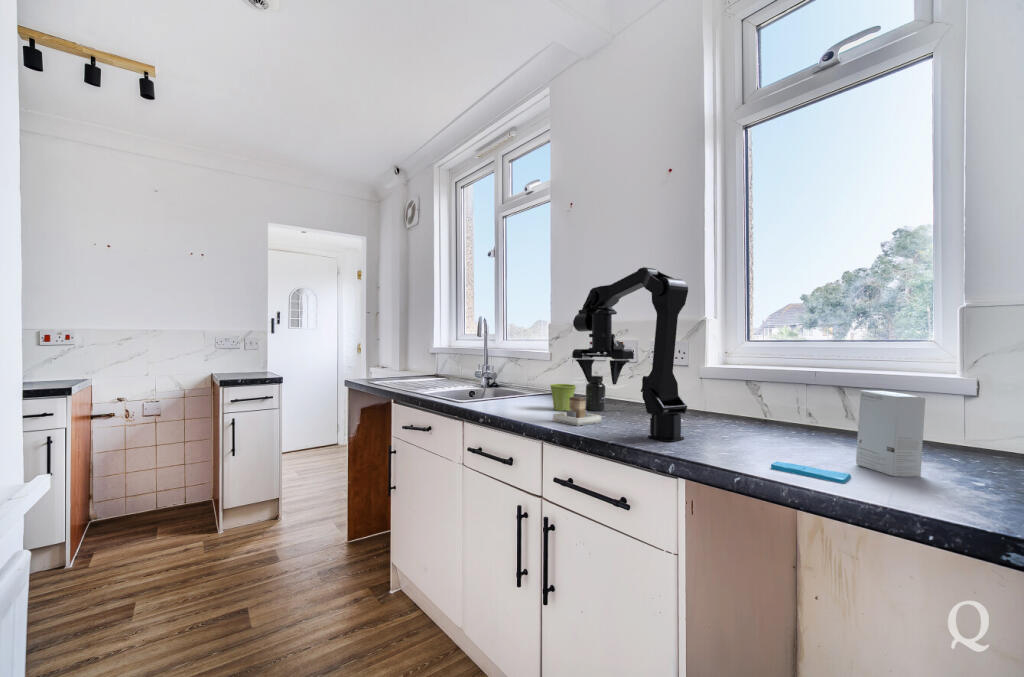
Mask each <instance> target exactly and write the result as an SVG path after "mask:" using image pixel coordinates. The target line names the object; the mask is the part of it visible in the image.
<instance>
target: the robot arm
mask: <svg viewBox="0 0 1024 677" xmlns="http://www.w3.org/2000/svg"><path fill="white" fill-rule="evenodd" d="M642 288H644V289H645V290H646V291H648V292H649V293H651V302H652V305H653V308H654V310H655V313H656V322H655V332H654V344H653V356H652V368H651V371H650V373H649V374H648V375H643V376H642V379H641V383H642V384H641V390H640V392H641V393H642V400H643V402H644V406H645V410H646V413H647V414H650V415H651V417H650V419H649V420H650V421H649V423H650V424H649V434H648V435H647V438H648V439H649V438H650V439H653V440H659V441H663V442H669V443H670V442H676V441H680V440H685V436H683V435H682V415H685V414H686V413H687V410H688V405H687V403H686V402H685V401H684V399H683V398H682V397H681V395H680V394H679V384H678V381H677V378H676V376H675V375H674V361H675V354H676V353H675V350H676V339H677V328H678V321H679V318H678V317H679V314H680V313H681V311H682V309H683V308H684V306H685V305H686V301H687V298H688V293H689V287H688V284H687V283H686V281H684V280H683V279H680V278H674V277H673V276H669V275H668V274H665V273H662V272H661V271H659V270H657V269H656V268H653V267H640V268H638V269H637V271H634V272H632V273H631V274H629V275H626V276H624V277H623V278H621V279H619V280H617V281H615V282H613V283H610V284H607V285H600V286H595V287H592V288H591V289H590V290H589V293H588V295H587V297H586V299H585V301H584V303H583V305H582V308H581V309H578V313H577V314H576V315H575V316H574V317H573V318H574V319H573V320H572V324H573V327H574V329H575V330H576V331H577V332H591V333H589V334H588V337H589V338H591V347H589V348H581V349H580V348H576V349H575V348H574V349H573V351H572V356H571V359H575V362H577V363H578V365H579V367H580V369H581V370H582V373H583V374H584V377H585V380H587V384H588V383H591V380H592V376H593V364H594V362H595V360H596V359H593V358H611V359H612V360H609V366H610V376H611V382H612V385H614V386H615V385H617V383H618V381H619V379H620V378H619V377H620V375H621V372H622V369H623V368H624V366H625V365H626V364H627V363H630V361H631V360H634V359H635V358H634V356H635V354H634V352H633V350H632V349H630V348H627V349H626V348H625V344H623V343H622V342H621V341H619V340H616V335H615V333H612V332H613V331H612V330H613V329H612V328H613V327H612V325H613V324H612V323H613V320H612V317H613V315H617V314H618V312H617V311H616V310H615V309H614V308H613V307H614V306H615V305H616V304H618V302H620V299H621V298H624V297H625V296H627V295H629V294H632V293H634V292H636V291H638V290H640V289H642Z"/></svg>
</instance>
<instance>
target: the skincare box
mask: <svg viewBox="0 0 1024 677" xmlns="http://www.w3.org/2000/svg"><path fill="white" fill-rule="evenodd" d="M925 408H926V397H923V396H920V395H912V394H907V393H901V392H895V391H887V390H886V391H885V390H865V389H864V390H863V389H861V390H860V394H859V408H858V410H859V411H858V424H857V425H858V426H857V440H856V442H857V443H856V455H855V464H856V465H857V466H860V467H863V468H866V469H869V470H873V471H877V472H880V473H883V474H884V475H888V476H891V477H913V478H914V477H921V476H922V473H921V472H922V459H923V458H922V457H923V443H924V428H925V427H924V423H925V413H926V412H925V410H926V409H925Z"/></svg>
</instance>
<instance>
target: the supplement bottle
mask: <svg viewBox="0 0 1024 677" xmlns="http://www.w3.org/2000/svg"><path fill="white" fill-rule="evenodd" d="M585 398H586V401H585V410H587V411H590V410H591V412H592V411H593V412H604V411H605V409H606V385H605V384H604V380H603V375H592V380H591V383H588V382H587V383H586V385H585ZM603 410H604V411H603Z"/></svg>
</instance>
